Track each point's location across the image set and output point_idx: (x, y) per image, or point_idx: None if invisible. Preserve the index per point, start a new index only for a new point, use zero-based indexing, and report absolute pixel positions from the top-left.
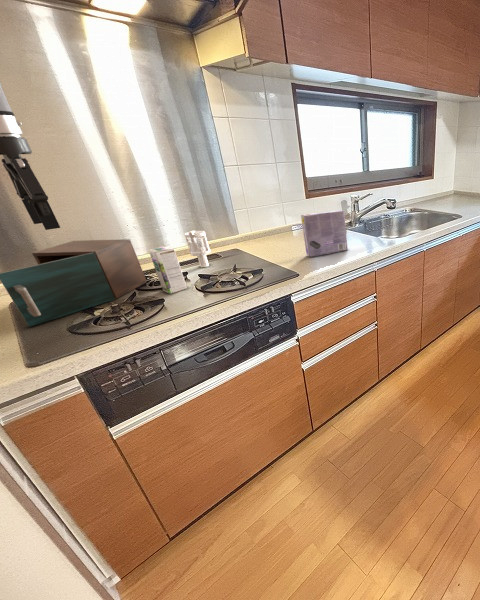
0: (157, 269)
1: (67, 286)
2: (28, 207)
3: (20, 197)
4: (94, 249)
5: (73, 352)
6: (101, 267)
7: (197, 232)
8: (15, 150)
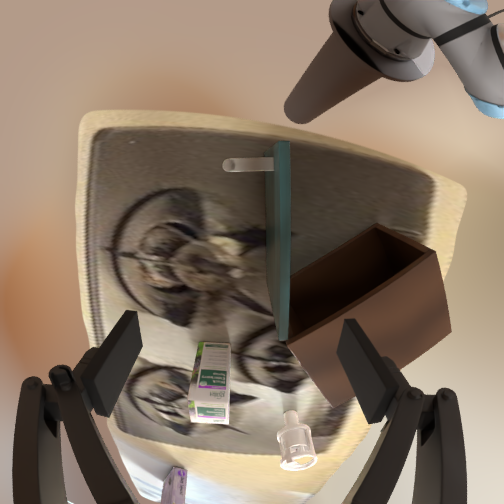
0: (211, 372)
1: (271, 240)
2: (367, 368)
3: (408, 392)
4: (312, 349)
5: (93, 176)
6: None
7: (308, 464)
8: None
